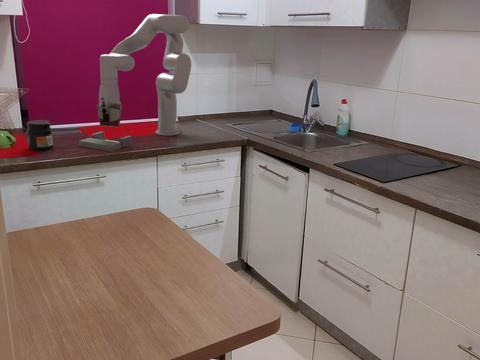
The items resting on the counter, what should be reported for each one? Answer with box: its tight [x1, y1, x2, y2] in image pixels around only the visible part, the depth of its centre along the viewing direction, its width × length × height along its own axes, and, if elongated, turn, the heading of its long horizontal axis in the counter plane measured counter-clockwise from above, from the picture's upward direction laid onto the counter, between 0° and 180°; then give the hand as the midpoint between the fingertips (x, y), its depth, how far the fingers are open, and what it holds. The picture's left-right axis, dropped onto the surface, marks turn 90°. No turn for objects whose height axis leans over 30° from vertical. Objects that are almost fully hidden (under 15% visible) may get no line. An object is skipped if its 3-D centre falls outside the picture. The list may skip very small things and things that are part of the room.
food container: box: [95, 103, 123, 128], centre depth 225 cm, size 12×6×10 cm, turn 81°
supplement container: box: [26, 119, 54, 152], centre depth 213 cm, size 10×10×12 cm
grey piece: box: [78, 131, 133, 152], centre depth 224 cm, size 16×18×4 cm
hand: (110, 120), depth 225 cm, fingers closed on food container, 5 cm apart
